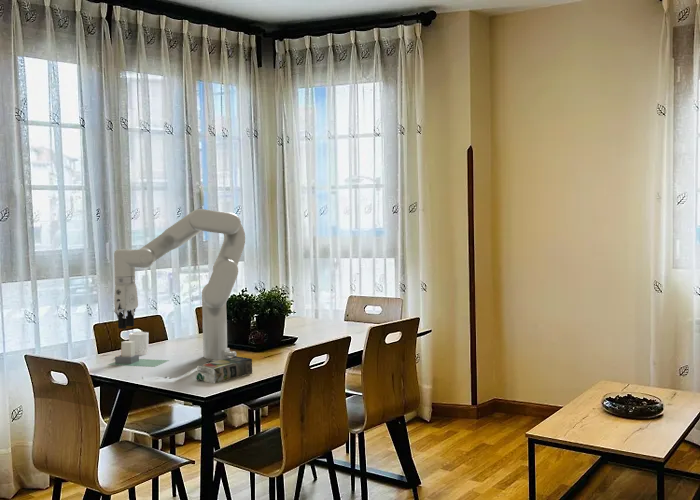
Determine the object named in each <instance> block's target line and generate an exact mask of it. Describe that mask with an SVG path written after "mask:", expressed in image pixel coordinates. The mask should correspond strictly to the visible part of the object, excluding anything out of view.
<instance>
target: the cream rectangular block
mask: <svg viewBox="0 0 700 500" xmlns="http://www.w3.org/2000/svg"><path fill="white" fill-rule="evenodd" d="M120 343H121V346H120V355H121V357H132V356H134V355H135V341H129V340H124V341H121V342H120Z"/></svg>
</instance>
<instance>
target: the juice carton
mask: <svg viewBox="0 0 700 500" xmlns="http://www.w3.org/2000/svg"><path fill="white" fill-rule="evenodd" d="M250 374H253V359H252V358H250V357H249V358H248V357H243V356H237V355H236V356H234V357H231V358H227V359H222V360H219V361H214V362H211V363H203V364H198V365H197V366H196V377H195V379H196V381H202V382H204V383H205V382H206V383H211V384H217V383H220V382H221V383H222V382H224V381H228V380H233V379H235V378H236V379H237V378H239V377H243V376H247V375H250Z"/></svg>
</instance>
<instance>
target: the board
mask: <svg viewBox="0 0 700 500" xmlns="http://www.w3.org/2000/svg"><path fill="white" fill-rule="evenodd" d="M114 359H115V361H114V362H113V361H112V362H111V363H108V364H107V366H122V367H123V366H125V367H144V368H146V367H148V368H149V367H151V368H156V367H157V366H160V365H162V364H164V363H167V362H170V360H169V359H145V358H140V355H138V354H135V355H134V356H132V357H121V354H118V355H115V357H114Z"/></svg>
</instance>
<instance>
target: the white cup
mask: <svg viewBox="0 0 700 500" xmlns="http://www.w3.org/2000/svg"><path fill="white" fill-rule="evenodd" d="M128 341H135V354H138V355H139V356H144V355H148V354H149V353H148V352H149V331H136V332H130V333H128Z"/></svg>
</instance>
